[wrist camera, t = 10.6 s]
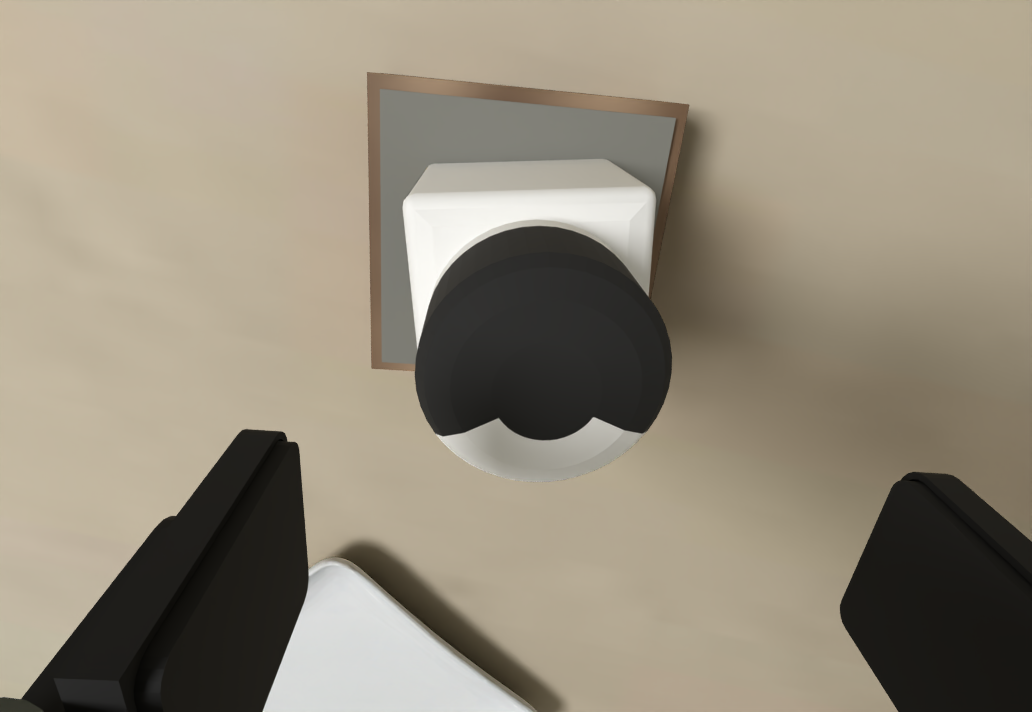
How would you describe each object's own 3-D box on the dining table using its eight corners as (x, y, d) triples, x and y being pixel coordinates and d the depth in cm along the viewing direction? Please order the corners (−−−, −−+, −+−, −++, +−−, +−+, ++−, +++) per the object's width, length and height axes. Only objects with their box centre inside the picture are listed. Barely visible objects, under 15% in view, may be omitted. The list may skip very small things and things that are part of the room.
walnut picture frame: (662, 101, 25) (691, 105, 22) (617, 351, 30) (634, 387, 27) (383, 73, 24) (365, 72, 21) (384, 336, 29) (370, 371, 26)
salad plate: (554, 691, 42) (559, 739, 39) (342, 805, 47) (332, 856, 44) (345, 514, 35) (332, 557, 32) (119, 672, 40) (88, 723, 36)
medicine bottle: (424, 162, 22) (364, 240, 11) (611, 157, 22) (726, 228, 12) (439, 334, 25) (403, 525, 14) (603, 328, 25) (689, 511, 15)
